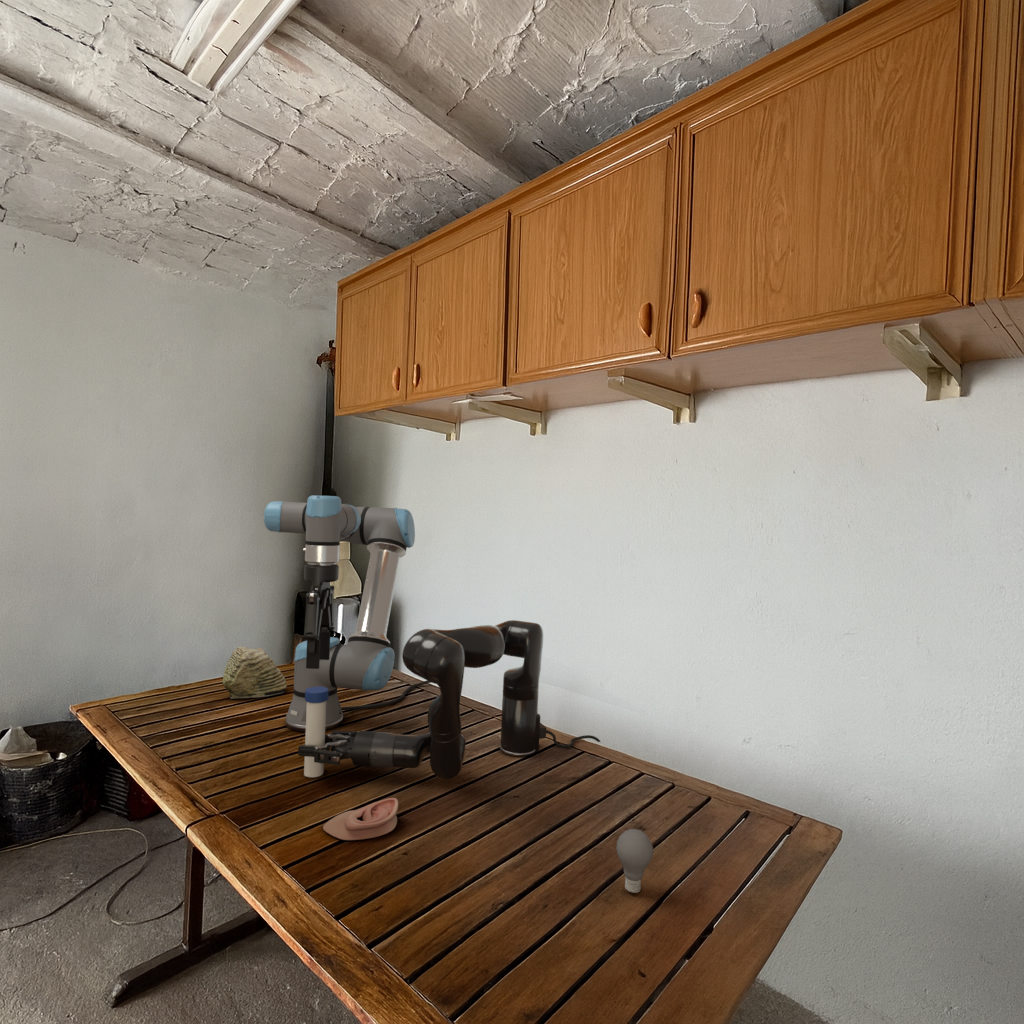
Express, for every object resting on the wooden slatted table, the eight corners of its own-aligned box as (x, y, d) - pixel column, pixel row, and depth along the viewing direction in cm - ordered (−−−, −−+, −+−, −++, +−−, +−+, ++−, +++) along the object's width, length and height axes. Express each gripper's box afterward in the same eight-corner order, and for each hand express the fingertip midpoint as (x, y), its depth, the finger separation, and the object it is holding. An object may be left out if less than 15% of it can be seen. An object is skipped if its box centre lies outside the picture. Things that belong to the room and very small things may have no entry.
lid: (333, 698, 146) (333, 688, 146) (317, 704, 141) (317, 694, 141) (316, 694, 148) (316, 685, 148) (299, 700, 143) (300, 690, 143)
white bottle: (327, 772, 146) (330, 690, 145) (314, 779, 142) (317, 695, 142) (313, 767, 148) (316, 687, 147) (299, 774, 144) (303, 692, 143)
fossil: (218, 695, 195) (220, 647, 195) (278, 685, 208) (279, 640, 207) (228, 703, 189) (230, 653, 188) (289, 692, 201) (290, 645, 201)
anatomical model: (315, 814, 118) (343, 787, 129) (314, 835, 118) (343, 807, 129) (382, 825, 115) (405, 796, 127) (381, 846, 116) (404, 816, 127)
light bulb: (610, 879, 108) (613, 822, 108) (644, 879, 109) (647, 822, 109) (619, 902, 102) (622, 840, 102) (655, 901, 103) (658, 840, 103)
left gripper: (318, 558, 154) (315, 652, 154) (289, 567, 134) (285, 675, 134) (349, 559, 154) (345, 653, 154) (325, 568, 134) (321, 676, 134)
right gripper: (385, 721, 151) (316, 717, 152) (368, 745, 137) (292, 740, 137) (384, 753, 151) (315, 748, 152) (367, 779, 137) (291, 774, 138)
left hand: (318, 663), depth 144 cm, fingers open, 7 cm apart
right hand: (304, 744), depth 145 cm, fingers open, 6 cm apart
